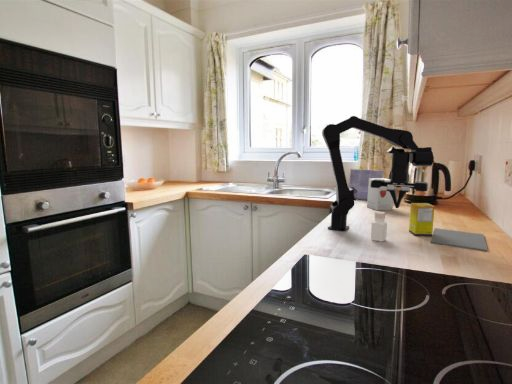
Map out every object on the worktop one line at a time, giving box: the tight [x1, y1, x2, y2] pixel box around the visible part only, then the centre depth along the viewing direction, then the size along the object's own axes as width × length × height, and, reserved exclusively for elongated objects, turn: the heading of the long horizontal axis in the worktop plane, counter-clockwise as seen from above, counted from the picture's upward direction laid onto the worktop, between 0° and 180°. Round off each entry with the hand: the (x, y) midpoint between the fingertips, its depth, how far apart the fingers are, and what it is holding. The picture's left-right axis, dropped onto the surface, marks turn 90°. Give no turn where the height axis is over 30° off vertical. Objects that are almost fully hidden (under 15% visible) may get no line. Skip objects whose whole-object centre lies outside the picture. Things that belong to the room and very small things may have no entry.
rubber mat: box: [430, 227, 488, 252], centre depth 107 cm, size 20×15×1 cm
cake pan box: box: [348, 168, 384, 201], centre depth 183 cm, size 19×5×18 cm, turn 58°
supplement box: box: [408, 202, 435, 237], centre depth 112 cm, size 6×6×11 cm
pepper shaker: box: [370, 211, 388, 243], centre depth 105 cm, size 4×4×10 cm
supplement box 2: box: [366, 177, 395, 211], centre depth 157 cm, size 9×9×15 cm
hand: (397, 208), depth 116 cm, fingers closed
